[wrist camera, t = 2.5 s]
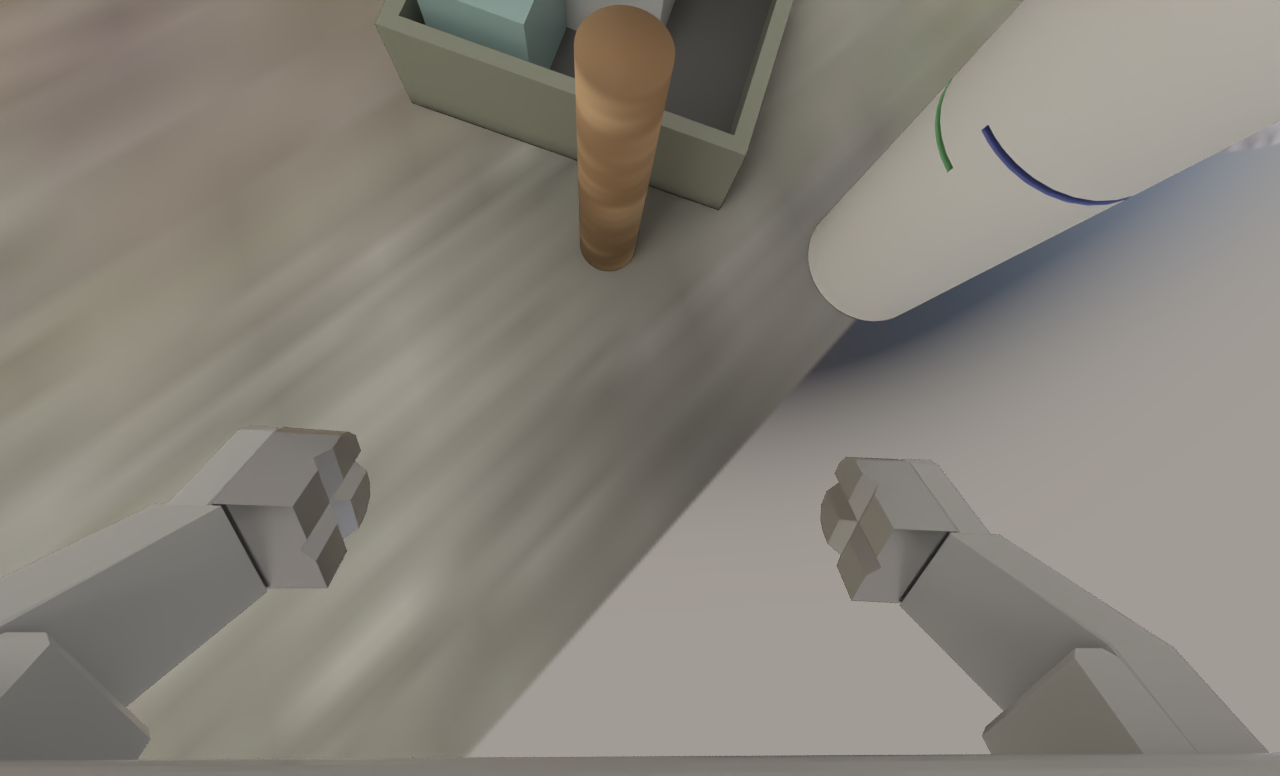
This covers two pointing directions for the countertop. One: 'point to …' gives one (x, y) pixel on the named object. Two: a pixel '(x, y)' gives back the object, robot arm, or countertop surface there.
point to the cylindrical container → (1047, 140)
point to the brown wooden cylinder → (617, 125)
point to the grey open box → (545, 75)
